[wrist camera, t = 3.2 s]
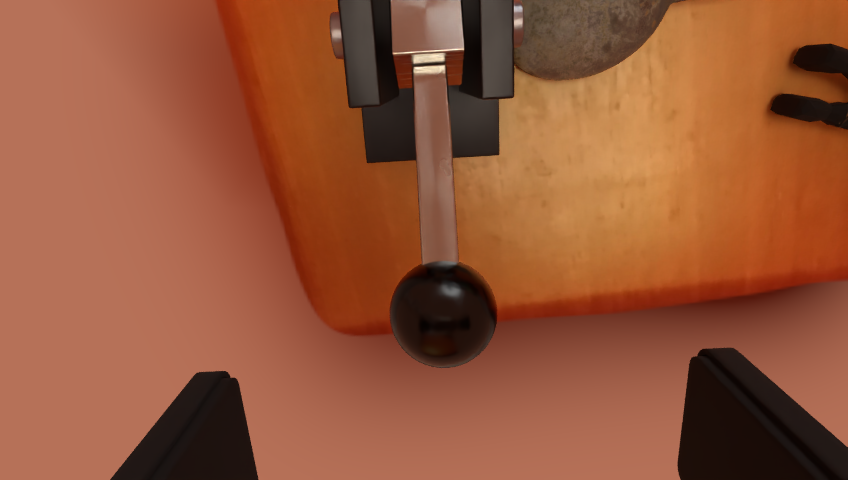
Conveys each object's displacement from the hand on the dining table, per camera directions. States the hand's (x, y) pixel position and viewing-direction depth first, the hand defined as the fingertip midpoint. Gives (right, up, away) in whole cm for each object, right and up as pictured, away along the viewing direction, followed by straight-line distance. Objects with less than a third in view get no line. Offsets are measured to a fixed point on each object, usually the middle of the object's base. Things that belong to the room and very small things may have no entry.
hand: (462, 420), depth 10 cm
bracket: (-1, +14, +15) cm, 20 cm away
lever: (0, +6, +7) cm, 9 cm away
